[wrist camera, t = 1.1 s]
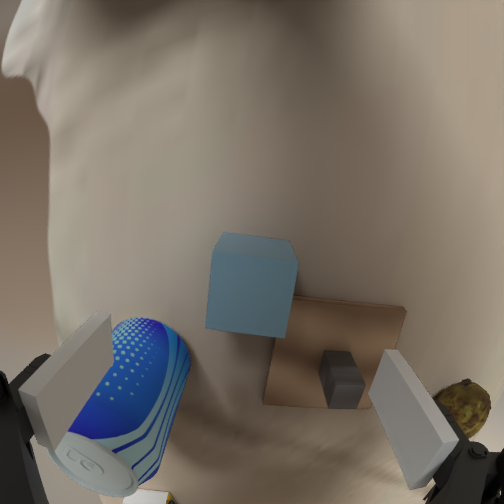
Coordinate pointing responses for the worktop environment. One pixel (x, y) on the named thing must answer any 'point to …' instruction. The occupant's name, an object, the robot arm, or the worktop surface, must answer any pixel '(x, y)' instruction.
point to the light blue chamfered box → (251, 285)
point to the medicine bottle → (149, 497)
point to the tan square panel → (330, 353)
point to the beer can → (127, 411)
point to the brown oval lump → (467, 405)
